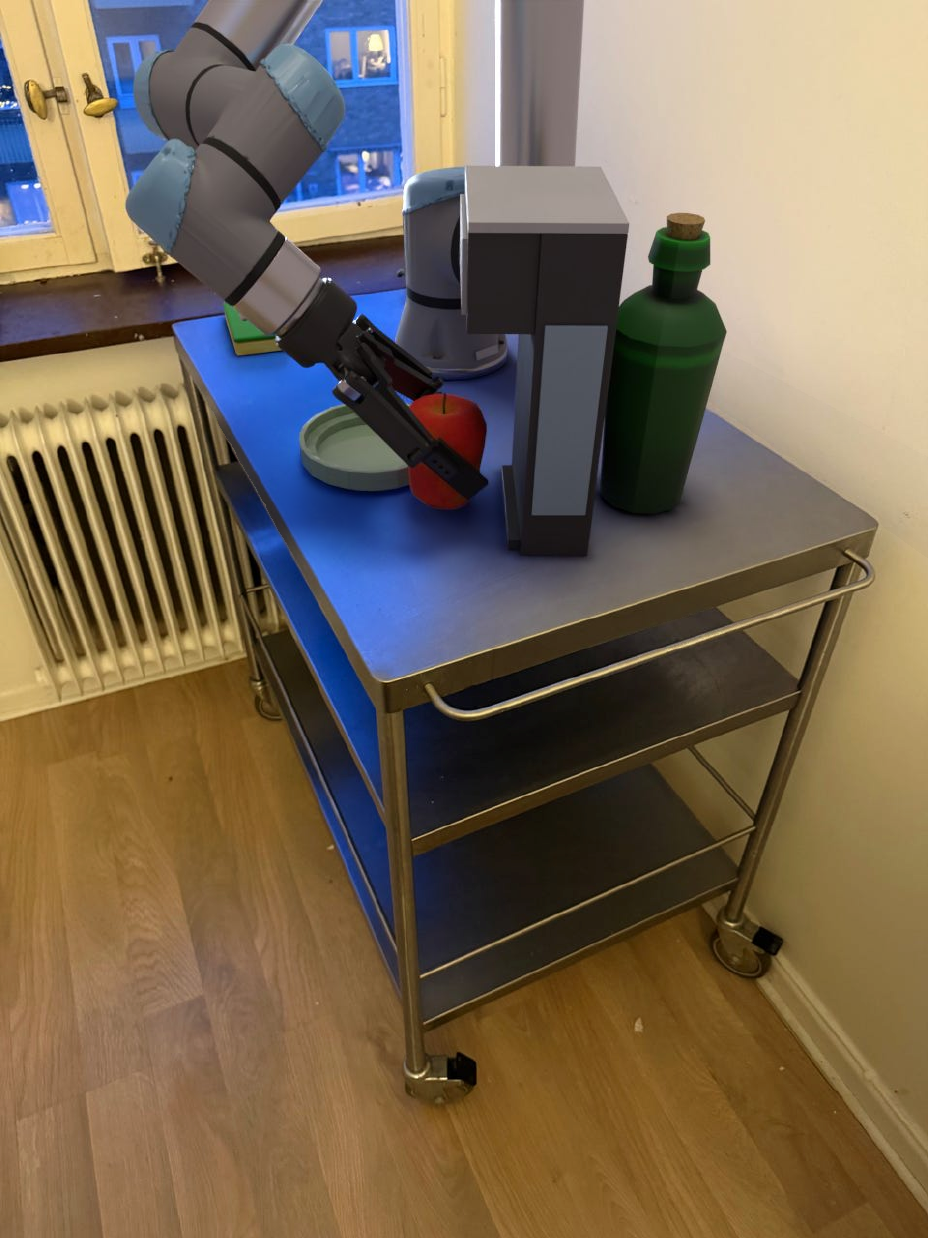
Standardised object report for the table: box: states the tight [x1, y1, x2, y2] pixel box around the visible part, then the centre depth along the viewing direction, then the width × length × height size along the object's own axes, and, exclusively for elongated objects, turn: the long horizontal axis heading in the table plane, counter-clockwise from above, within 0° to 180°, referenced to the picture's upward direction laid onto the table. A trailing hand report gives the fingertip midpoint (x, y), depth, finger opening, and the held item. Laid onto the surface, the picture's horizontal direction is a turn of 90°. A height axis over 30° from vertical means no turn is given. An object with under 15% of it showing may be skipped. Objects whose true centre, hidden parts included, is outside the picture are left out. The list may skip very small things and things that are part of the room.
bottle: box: [600, 212, 728, 515], centre depth 85 cm, size 11×11×28 cm
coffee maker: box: [460, 165, 630, 557], centre depth 81 cm, size 12×16×31 cm
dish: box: [298, 402, 412, 492], centre depth 98 cm, size 16×16×3 cm
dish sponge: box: [222, 301, 283, 356], centre depth 124 cm, size 7×14×2 cm, turn 18°
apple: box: [408, 392, 488, 510], centre depth 87 cm, size 9×8×12 cm
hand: (476, 465), depth 88 cm, fingers closed on apple, 9 cm apart
